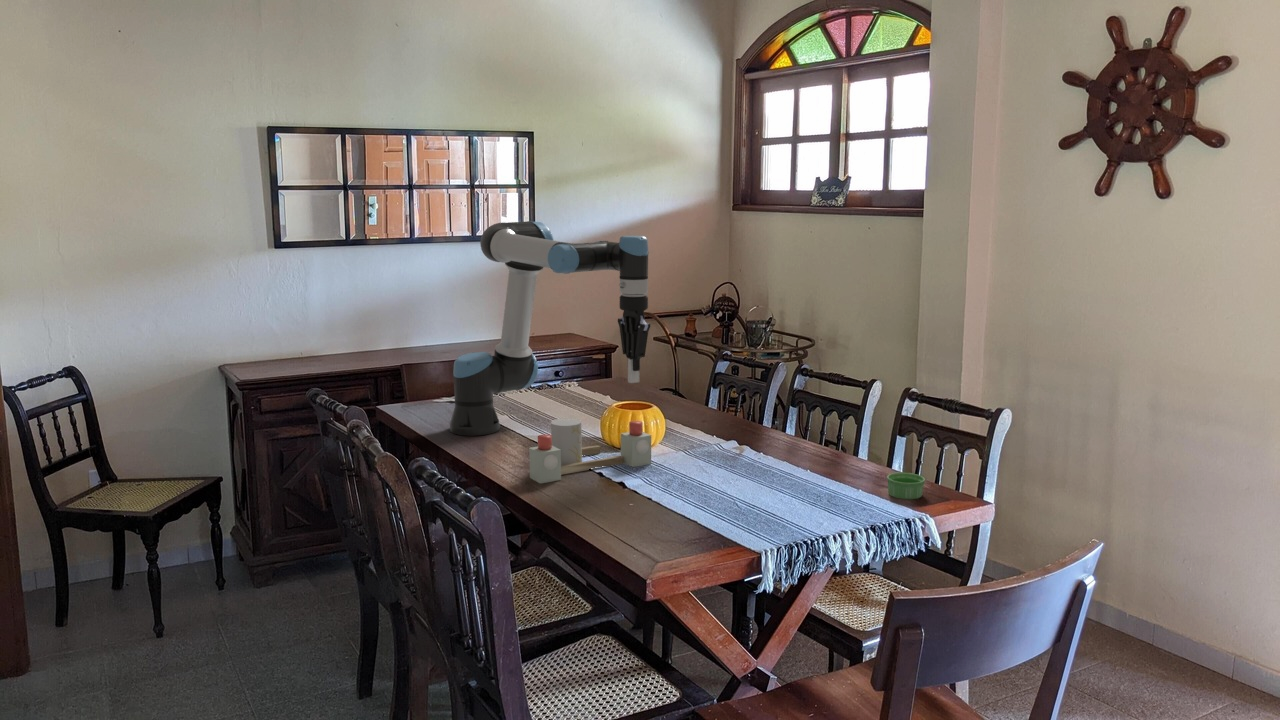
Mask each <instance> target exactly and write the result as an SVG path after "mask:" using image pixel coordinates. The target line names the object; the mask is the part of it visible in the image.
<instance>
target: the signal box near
mask: <svg viewBox="0 0 1280 720" xmlns="http://www.w3.org/2000/svg"><path fill="white" fill-rule="evenodd" d="M528 451H529V452H528V453H529V454H528V455H529V478H530V479H531V480H533V481H534V482H537V483H538V484H547V483H551V482H557V481H561V480H562V475H561V450H560V449H558V448H556V447H554V446H552V448H551V449H546V450H543V449H538V445H537V446H532V447H529V448H528Z"/></svg>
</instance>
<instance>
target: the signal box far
mask: <svg viewBox="0 0 1280 720" xmlns="http://www.w3.org/2000/svg"><path fill="white" fill-rule="evenodd" d="M620 456H622V457H623V464H624V463H625V465H627V466H629V467H631V466H632V467H631V468H635V467H640V466H641V467H642V466H647V465H651V464H652V435H651V434H650V433H646V432H644V431H643V434H640V435H631V434H629V431H627V432H621V433H620Z"/></svg>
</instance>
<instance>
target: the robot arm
mask: <svg viewBox="0 0 1280 720" xmlns="http://www.w3.org/2000/svg"><path fill="white" fill-rule="evenodd" d="M479 242H480V243H479V244H480V249H481V252H482V253H483V255H484V256H485V257H486V258H487V259H488V260H490V261H492V262H495V263H501V264H502V263H503V264H504V265H505V266H506V267H507V269H508V279H507V287H506V293H505V294H506V295H505V303H504V304H505V305H504V311H503V312H504V313H503V320H502V329H501V336H500V337H501V338H500V342H498V343H497V344H496V345H495V346H494V354H492V353H490V352H488V351H487V352H486V351H478V352H469V353H465V354H462V355H460V356H459V357H456V359H455V360H454V363H453V371H452V375H453V389H454V391H453V392H454V407H453V412H452V414H451V419H450V420H449V421H450V422H449V432H451V434H454V435H458V436H467V437H468V436H470V437H471V436H473V437H474V436H484V435H489V434H493V433H496V432H498V431H500V429H501V427H500V420H499V417H498V413H497V412H496V408H495V406H494V394H500V393H505V392H513V391H520V390H523V389H526V388H529V387H530V386H532V385H533V384H534V383H535V381H536V379H537V376H538V371H539V364H538V363H537V362H538V360H537V357H536V356H535V355H534V353H533V349H532V348H531V347H530V346H529V341H530V337H531V326H532V318H533V312H534V304H535V295H536V287H537V282H538V281H537V279H538V274H539V273H540V272H541V271H543V270H544V268H547V269H551V270H552V271H553V272H554V273H556V274H564V275H565V274H570V273H584V272H595V271H596V272H598V271H599V272H600V271H617V272H619V284H618V285H619V293H620V296H619V309H620V310H621V311H623V312H622V317H621V318H620V317H619V318H618V319H617V324H618V326H619V327H618V328H619V334H620V341H621V350H622V354H623V355H625V356H626V358H627V382H628V383H629V384H635V383H640V370H641V368H640V367H641V366H640V365H641V363H640V361H641V360H640V359H642V358H645V357H646V351H647V350H646V349H647V343H648V336H649V331H650V329H651V323H650V322H646V320H645V319H646V317H645V311H646V310H648V309H649V297H648V295H647V294H649V253H650V251H649V242H648V238H647V237H646V236H644V235H622V236H620V238H619V242H616V241H615V242H614V241H609V240H599V241H595V242H594V241H593V242H583V243H574V242H573V243H571V242H570V243H569V242H564V241H559V240H554V236H553V234H552V232H551V230H550V228H549V227H548V226H547V224H545V223H543V222H540V221H532V220H528V221H512V222H497V223H493V224H492V225H490V226H488V227H487V228H486V229H485V230H484V231H483V233H482V234H481V238H480V241H479Z"/></svg>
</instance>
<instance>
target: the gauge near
mask: <svg viewBox="0 0 1280 720" xmlns="http://www.w3.org/2000/svg"><path fill="white" fill-rule="evenodd" d="M537 446H538V449H543V450H546V449H551V448H552V436H551V434H539V435H537Z"/></svg>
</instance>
